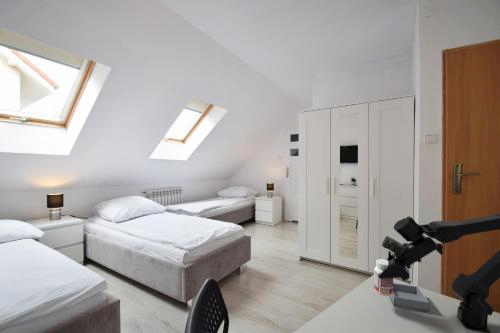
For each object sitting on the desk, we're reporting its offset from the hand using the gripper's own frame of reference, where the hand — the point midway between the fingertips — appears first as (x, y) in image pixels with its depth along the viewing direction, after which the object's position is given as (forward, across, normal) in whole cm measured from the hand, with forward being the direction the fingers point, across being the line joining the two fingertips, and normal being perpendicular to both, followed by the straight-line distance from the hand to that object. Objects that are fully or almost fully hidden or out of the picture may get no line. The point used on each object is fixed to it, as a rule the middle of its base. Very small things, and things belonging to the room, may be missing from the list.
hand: (379, 273), depth 89 cm
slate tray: (+2, -9, +15) cm, 18 cm away
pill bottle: (+4, 0, +6) cm, 7 cm away
